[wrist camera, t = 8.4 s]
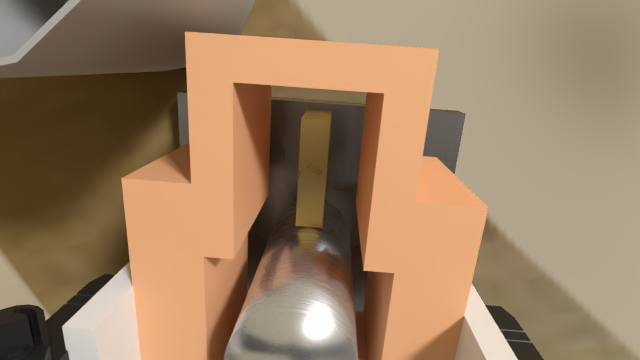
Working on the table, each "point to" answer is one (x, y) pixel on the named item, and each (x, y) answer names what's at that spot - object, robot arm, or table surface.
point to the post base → (339, 171)
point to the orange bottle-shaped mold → (253, 188)
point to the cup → (107, 34)
